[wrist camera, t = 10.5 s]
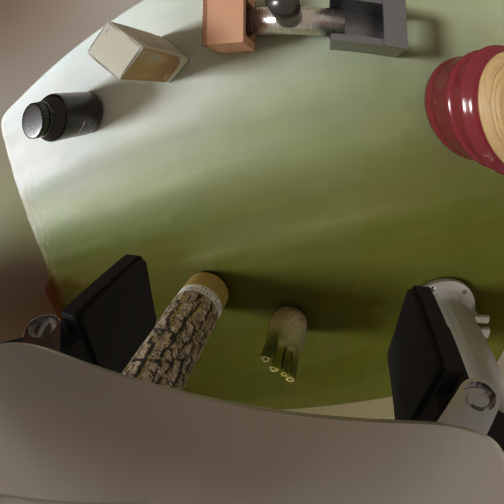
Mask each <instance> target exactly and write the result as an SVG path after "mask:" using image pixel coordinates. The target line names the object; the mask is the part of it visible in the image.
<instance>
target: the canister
mask: <svg viewBox="0 0 504 504" xmlns="http://www.w3.org/2000/svg"><path fill="white" fill-rule="evenodd" d="M425 109H426V114H427V117H428V120H429V123H430V125H431V127H432V129H433V131H434V132H435V134H436V135H437V137H438V138H439V139H440V140H441V141H442V143H443V144H444V145H445V146H446V147H448V148H449V149H450V150H451V151H453V152H454V153H456V154H458V155H460V156H462V157H464V158H467V159H471V160H475V161H477V162H478V163H480V164H481V165H483V166H485V167H488V168H491V169H493V170H495V171H496V172H498V173H500V174H502V175H504V46H502V45H492V46H487V47H484V48H482V49H480V50H476V51H472V52H470V53H468V54H466V55H464V56H460V57H454V58H451V59H449V60H446V61H444V62H443V63H441V64H440V65H439V66H438V67H437V68H436V69H435V70H434V72H433V73H432V75H431V76H430V78H429V80H428V83H427V86H426V90H425Z"/></svg>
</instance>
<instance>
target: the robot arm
mask: <svg viewBox="0 0 504 504" xmlns="http://www.w3.org/2000/svg"><path fill="white" fill-rule="evenodd" d="M61 313H62V316H63V320H62V321H61V322H60V320H59V319H58V317H56V316H54V315H43V316H40V317H37V318H36V319H34V320H32V321H31V322H30V323H29V324H28V325H27V326H26V328H25V331H24V337H22V338H18V339H14V340H10V341H7V342H3V343H0V504H504V377H503V375H502V373H501V370H500V368H499V366H498V364H497V362H496V360H495V357H494V355H493V353H492V351H491V349H490V347H489V345H488V343H487V341H486V339H485V338H488V337H489V335H490V328H489V326H479V325H478V323H484V324H487V323H488V322H489V315H483V314H482V315H478V313H477V312H476V310H475V299H474V296H473V294H472V292H471V290H470V289H469V287H468V286H467V285H466V284H465V283H463V282H461V281H460V280H456V279H452V278H443V279H437V280H434V281H431V282H429V283H427V284H425V285H423V286H413V288H412V290H411V289H408V291H407V293H406V296H405V300H404V303H403V306H402V310H401V313H400V316H399V320H398V323H397V326H396V329H395V332H394V335H393V338H392V341H391V344H390V347H389V350H388V365H389V372H390V379H391V387H392V395H393V403H394V414H395V420H390V419H388V420H387V419H368V418H353V417H339V416H328V415H318V414H308V413H300V412H292V411H284V410H278V409H271V408H265V407H258V406H252V405H247V404H241V403H236V402H231V401H225V400H221V399H216V398H211V397H207V396H202V395H198V394H193V393H189V392H185V391H181V390H177V389H173V388H169V387H166V386H162V385H158V384H155V383H151V382H147V381H144V380H141V379H137V378H134V377H131V376H127V375H124V374H121V373H122V371H123V370H124V369H125V367H126V366H127V364H128V363H129V362H130V360H131V359H132V357H133V356H134V355H135V353H136V352H137V351H138V349H139V348H140V346H141V345H142V344H143V342H144V341H145V339H146V338H147V337H148V335H149V334H150V333H151V331H152V330H153V329H154V327H155V325H156V315H155V309H154V304H153V299H152V294H151V288H150V282H149V276H148V270H147V264H146V262H145V261H144V260H143V259H142V257H141V256H136V255H128V254H127V255H125V256H124V257H122V258H121V259H120V260H119V261H118V262H116V263H115V264H114V265H113V266H112V267H111V268H109V269H108V270H107V271H106V272H105V273H103V274H102V275H101V276H100V277H99V278H98V279H97V280H95V281H94V282H93V283H92V284H91V285H90V286H89V287H87V288H86V289H85V290H84V291H83V292H82V293H81V294H79V295H78V296H77V297H76V298H75V299H74V300H73V301H72V302H71V303H70V304H68V305H67V306H66V307H65V308H64V309H63V310H62V311H61Z"/></svg>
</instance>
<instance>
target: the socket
mask: <svg viewBox="0 0 504 504" xmlns="http://www.w3.org/2000/svg"><path fill="white" fill-rule="evenodd" d="M254 7H255V2H254V0H203V30H202V45H203V46H205V47H207V48H209V49H212V50H214V51H216V52H218V53H232V52H254V51H255V35H246V8H254Z"/></svg>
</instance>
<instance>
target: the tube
mask: <svg viewBox="0 0 504 504" xmlns="http://www.w3.org/2000/svg"><path fill="white" fill-rule="evenodd" d="M265 3H266V5H267V7H254V8H246V35H317V36H331V33H336V34H345V13H344V9H336V8H321V7H300V3H299V0H265Z"/></svg>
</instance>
